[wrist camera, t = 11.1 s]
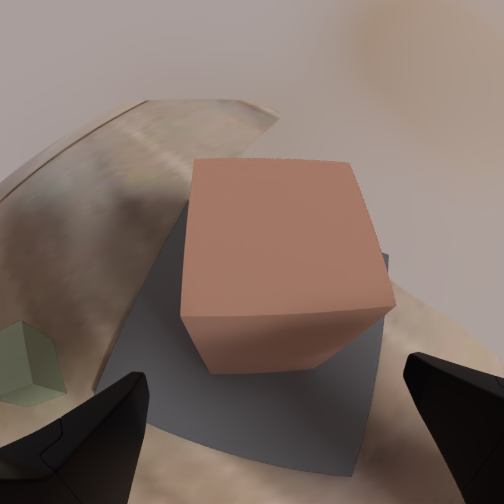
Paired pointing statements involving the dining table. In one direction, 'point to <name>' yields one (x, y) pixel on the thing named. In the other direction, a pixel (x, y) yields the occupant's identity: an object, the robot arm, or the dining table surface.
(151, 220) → the dining table surface
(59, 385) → the olive block
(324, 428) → the charcoal mat
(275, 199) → the pink upright block
